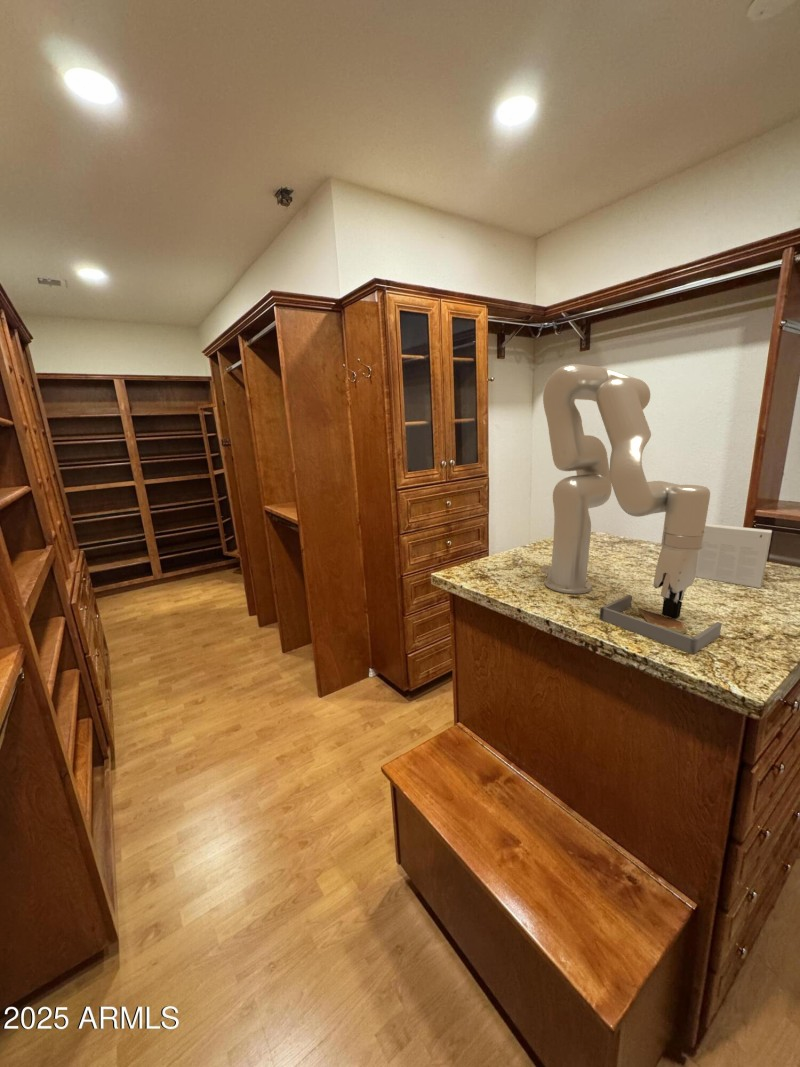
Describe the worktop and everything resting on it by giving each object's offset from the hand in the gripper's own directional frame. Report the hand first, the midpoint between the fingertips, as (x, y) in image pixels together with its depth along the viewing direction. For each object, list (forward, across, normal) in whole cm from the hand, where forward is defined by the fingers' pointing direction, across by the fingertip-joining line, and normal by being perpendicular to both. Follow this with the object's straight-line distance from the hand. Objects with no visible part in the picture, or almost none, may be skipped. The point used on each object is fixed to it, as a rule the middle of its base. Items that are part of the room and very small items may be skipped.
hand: (670, 616), depth 96 cm
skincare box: (+1, -40, -5) cm, 40 cm away
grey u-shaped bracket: (+1, +6, 0) cm, 6 cm away
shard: (+2, +5, -1) cm, 5 cm away
